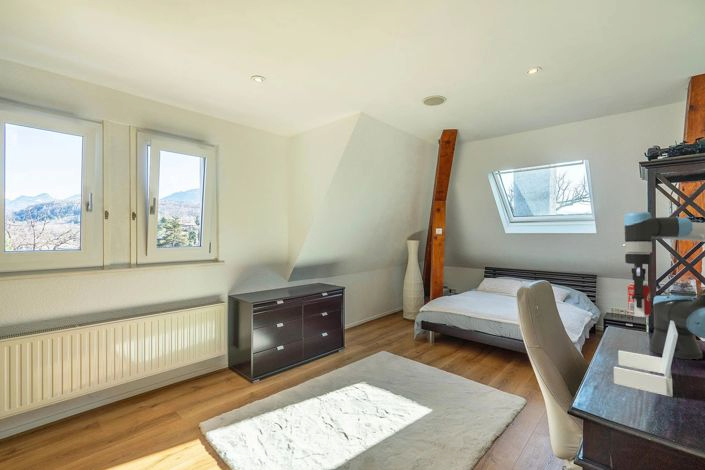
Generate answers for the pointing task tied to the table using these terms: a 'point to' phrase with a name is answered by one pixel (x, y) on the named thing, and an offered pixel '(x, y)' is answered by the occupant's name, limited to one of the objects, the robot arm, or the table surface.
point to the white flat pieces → (639, 378)
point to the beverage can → (646, 298)
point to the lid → (669, 348)
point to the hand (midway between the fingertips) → (639, 314)
